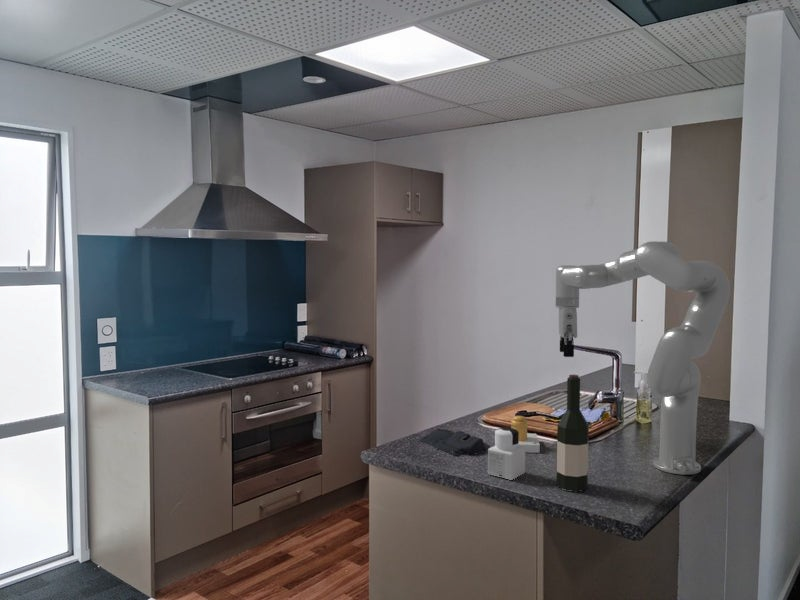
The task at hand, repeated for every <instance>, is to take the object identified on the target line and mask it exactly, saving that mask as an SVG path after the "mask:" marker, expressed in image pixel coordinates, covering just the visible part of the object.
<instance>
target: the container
mask: <svg viewBox="0 0 800 600" xmlns="http://www.w3.org/2000/svg"><path fill="white" fill-rule="evenodd" d="M518 445H519V432H518V431H517V430H515V429H513V428H511V427H500V428H497V429H496V430H495V431H494V445H493V446H490V447H491V448H489V449H488V450H487V475H488V474H491V475H494V476H498V477H502V478H505V479H509V480H513V479H514V480H516V479H517V477H518V476H520V475H521V476H523V475H525V474H524V473H526V452H525V447H521V446H518ZM522 474H523V475H522ZM521 476H520V477H521ZM515 478H516V479H515ZM518 478H519V477H518ZM505 479H504V480H505ZM509 480H508V481H509ZM514 480H513V481H514Z"/></svg>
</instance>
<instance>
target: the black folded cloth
mask: <svg viewBox="0 0 800 600" xmlns="http://www.w3.org/2000/svg"><path fill="white" fill-rule="evenodd" d="M418 442H419V443H420V442H422V443H426V444H428V445H431V446H433V447H434V448H437V449H439V450H441V451H444V452H446V453H449V454H451V455H453V456H457V457H458V456H461V455H466V454H474V455H476V454H475V453H478V454H480V453H479V452H481V453H483V452H482V451H484V452H486V451H488V449H489V448H491V447H492V446H491V445H489V444H487V443H486V442H484V440H483V438H480V437H476V436H475V435H471V434H470V433H465V432H464V431H461V430H458V431H456V432H455V431H452V430H449V429H446V428H445V429H443V428H442V429H441V428H437V429H435V430H433V431H431V432H429V433H428V434H426V435H425V436H422V437H421V438H420V439H418ZM422 443H421V444H422ZM434 448H433V449H434ZM441 451H440V452H441ZM446 453H445V454H446ZM453 456H452V457H453Z"/></svg>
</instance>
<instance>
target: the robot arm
mask: <svg viewBox="0 0 800 600" xmlns="http://www.w3.org/2000/svg"><path fill="white" fill-rule="evenodd" d="M647 276H651V277H652V278H654V279H655V280H657V281H658V282H660V283H662V284H664V285H666V286H668V287H669V288H671V289H673V290H675V291H677V292H680V293H694V292H696V295H695V297H694V298H693V300H692V301H691V303H690V305H689V307H688V308H687V311H686V315H685V316H684V319H683V321H682V323H681V325H680V326H675V327H671V328H669V329H668V330H667V331H666V332H665V333H663V334H662V336H661V337H660V339H659V341H658V343H657V346H656V349H655V352H654V354H653V357H652V360H651V362H650V364H649V366H648V367H649V368H648V370H647V374H646V383H647V386H648V388H649V390H650V391H651V392H652V393H653V394H654V395H656V396H657V397H662V398H661V401H660V402H661V403H660V413H659V414H660V419H659V451H658V452H659V453H658V454H659V455H658V457H656V458H654V459H653V466H654V467H655V468H656V469H658V470H659V471H662V472H665V473H669V474H675V475H686V476H688V475H689V476H690V475H696V474H698V473H700V472H701V471H702V465H701V464H700V463H698V462H697V461H696V450H697V449H696V448H697V446H696V444H697V417H698V404H699V403H698V402H699V395H700V390H701V384H702V373H701V371H700V369H699V367H698V365H697V364H696V363H695V362H694V361H692V360H696V359H698V358H702V357H704V356H705V355H707V353H708V352H709V350H710V347H711V345H712V342H713V339H714V337H715V335H716V332H717V330H718V327H719V324H720V322H721V320H722V317H723V314H724V312H725V309H726V308H727V304H728V303H729V299H730V296H731V283H730V281H729V277H728V275H727V274H726V272H725V271H724V270H723V269H722V268H721V266H719V265H718V264H716V263H714V262H711V261H708V260H699V259H698V260H686V259H684V258H683V257H681V252H680V249H679V248H678V247H677V245H675V244H674V243H672V242H669V241H658V240H657V241H647V242H644V243H642V244H640V246H638V248H635V249H631V250H629V251H625V252H622V253H621V254H620V255H619V257H618V258H617V259H616V260H612V261H609V262H605V263H601V264H585V265H559V266H557V267H556V270H555V308H557V309H558V334H559V352H560V353H563V357H565V358H574V357H575V345H574V343H575V342H574V341H575V340H574V339H577V338H578V311H577V309H578V308H580V289H581V290H588V289H589V290H590V289H599V288H600V289H601V288H605V287H609V286H613V285H614V286H615V285H618V284H621V283H624V282H627V281H629V282H630V281H631V280H635V279H639V278H643V277H647Z"/></svg>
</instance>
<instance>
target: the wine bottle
mask: <svg viewBox="0 0 800 600" xmlns="http://www.w3.org/2000/svg"><path fill="white" fill-rule="evenodd" d="M566 382H567V383H566V386H567V387H566V390H567V391H566V393H567V394H566V410H565V412H564V413H563V415H562V416H561V418H560V420H558V421H559V422H558V423H557V431H556V432H557V433H556V434H557V435H556V436H557V440H556V442H557V445H556V449H557V450H556V487H557V486H559V487H561V488H563V489H566V490H572V491H580V490H586V489H587V490H588V487H589V486H588V484H589V483H588V482H589V479H588V478H589V476H588V475H589V436H590V435H589V431H590V430H589V423H588V421H587V419H586V417H585V416H584V415H583V412H582V411H581V408H580V407H581V404H580V403H581V378H580V377H579V374H569V375H568V377H567V380H566ZM587 486H588V487H587Z"/></svg>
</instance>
